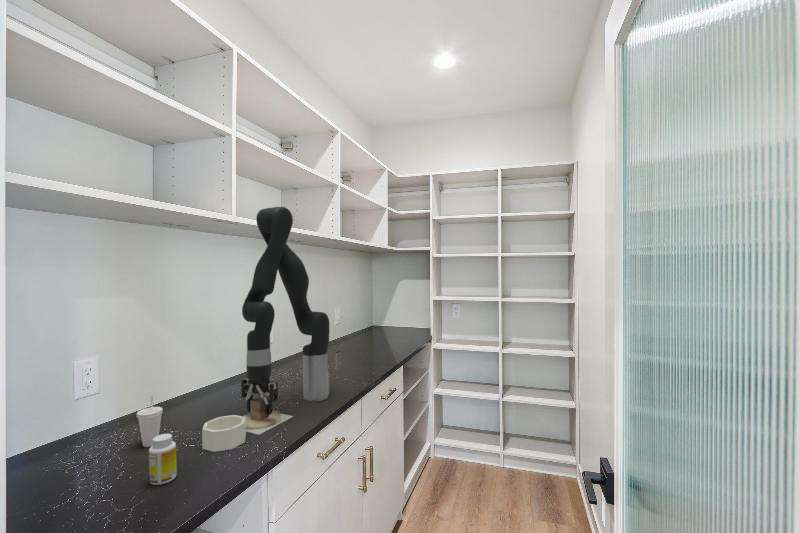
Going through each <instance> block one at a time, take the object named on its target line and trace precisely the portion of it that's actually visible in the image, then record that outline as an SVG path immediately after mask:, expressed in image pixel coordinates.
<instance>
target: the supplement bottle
mask: <svg viewBox="0 0 800 533" xmlns="http://www.w3.org/2000/svg"><path fill="white" fill-rule="evenodd" d="M177 461H178V460H177V444H176V442H175V441H174V440H173V434H172V433H161V434H159V435H158V436H156V437H154V438H153V446H150V448H149V449H148V465H149V466H148V467H149V468H148V471H149V472H148V473H149V483H150V484H151V485H153V486H159V485H161V486H162V485H164V484H167V483H169V482H172V481H173V480H174V479H175V478H176V477H177V475H178V469H177V466H178V464H177Z"/></svg>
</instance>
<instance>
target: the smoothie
mask: <svg viewBox="0 0 800 533" xmlns="http://www.w3.org/2000/svg"><path fill="white" fill-rule="evenodd" d="M163 412H164V410H163V407H161V406H154V394H150V407H145V408H143V409H141V410H138V411H137V412H136V418H137V419H138V426H139V431H140V438H141V442H142V447H144V448H149V447H150V448H151V446H153V438H154V437H156V436H158V435H160V430H161V420H162V413H163Z"/></svg>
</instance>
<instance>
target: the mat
mask: <svg viewBox="0 0 800 533" xmlns="http://www.w3.org/2000/svg"><path fill="white" fill-rule="evenodd" d="M279 413H280V414H281V420H280V421H279V422H278V423H276V424H275V425H272V426H270V427H266V428H262V429H254V430H248V429H246V433H252V434H255V435H258V436H259V435H262V434H264V433H266V432H267V431H269V430H271V429H273V428H274V427H275V428H276V426H278V425H280V424H282V423H284V422H286V421H288V420H289V419H291V418H294V415H290V414H284V413H281V412H279Z"/></svg>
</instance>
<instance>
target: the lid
mask: <svg viewBox="0 0 800 533" xmlns="http://www.w3.org/2000/svg"><path fill="white" fill-rule="evenodd" d="M267 398H268V397H267ZM268 400H269V398H268ZM265 404H266V403H265V401H264V399H263V398H261V396H258V397H256V398H253V400H251V401H250V411H251V412H249V413H247V414H246V413H245V414H244V415H243V416H242V415H241V416H242V417H246V429H248V430H254V429H262V428H266V427H270V426H272V425H275V424H276V423H278V422H279V421H280V420H281V414H282V413H281V412H279V411H277V410H273V411H272V414H270V415H268V416H267V415H265ZM280 413H281V414H280Z"/></svg>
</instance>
